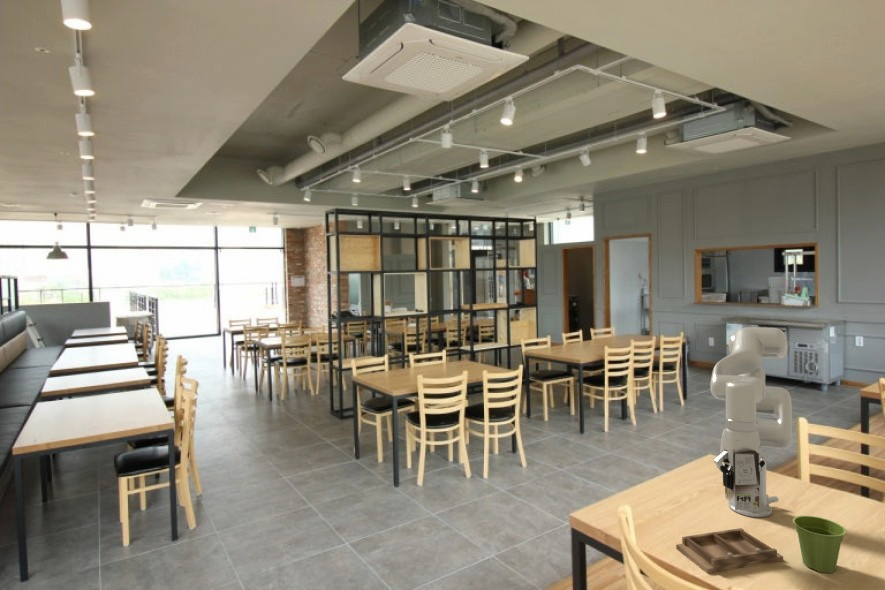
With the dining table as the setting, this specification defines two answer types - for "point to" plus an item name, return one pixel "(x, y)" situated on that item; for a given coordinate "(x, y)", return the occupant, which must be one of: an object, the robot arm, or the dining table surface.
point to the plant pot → (819, 541)
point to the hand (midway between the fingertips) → (741, 485)
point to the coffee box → (745, 482)
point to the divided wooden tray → (726, 550)
